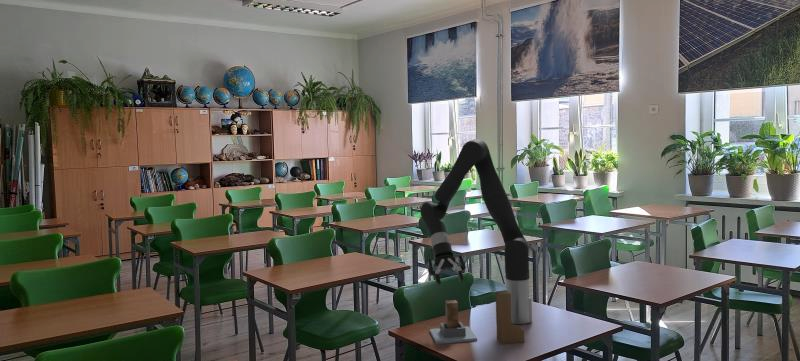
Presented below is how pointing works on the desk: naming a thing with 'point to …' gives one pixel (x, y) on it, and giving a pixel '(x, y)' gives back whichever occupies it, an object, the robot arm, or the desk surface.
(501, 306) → the wooden block
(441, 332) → the socket board
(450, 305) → the walnut peg
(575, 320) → the desk surface
